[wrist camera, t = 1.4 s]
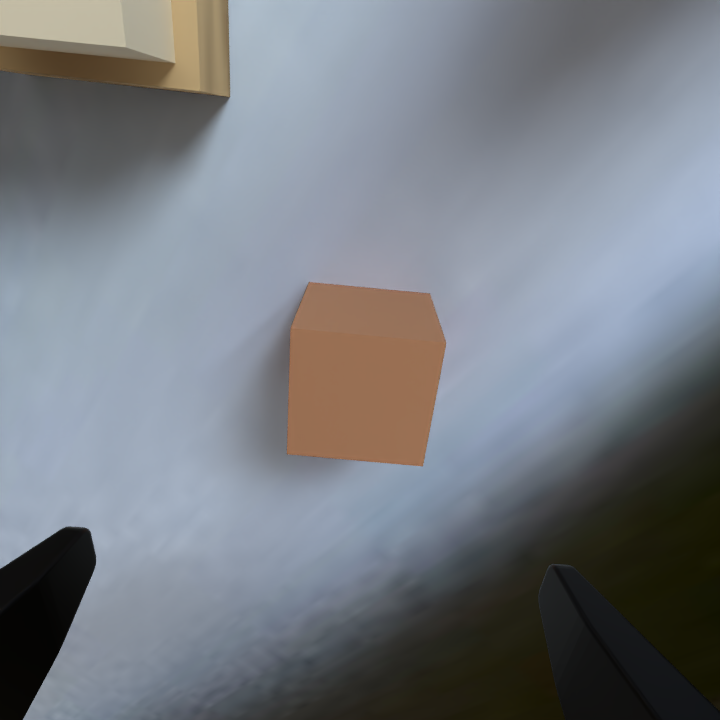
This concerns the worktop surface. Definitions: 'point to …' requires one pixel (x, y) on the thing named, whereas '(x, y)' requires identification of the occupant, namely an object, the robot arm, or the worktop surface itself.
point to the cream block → (91, 27)
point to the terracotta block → (363, 374)
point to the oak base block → (188, 74)
